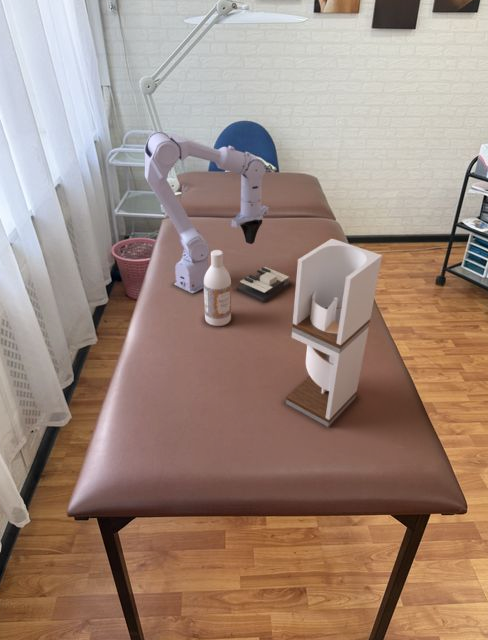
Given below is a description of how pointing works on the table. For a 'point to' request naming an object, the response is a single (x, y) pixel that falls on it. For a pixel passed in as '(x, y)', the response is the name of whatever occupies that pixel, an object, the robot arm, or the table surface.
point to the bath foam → (217, 291)
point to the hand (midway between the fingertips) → (249, 242)
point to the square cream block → (268, 278)
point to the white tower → (332, 325)
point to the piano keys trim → (262, 287)
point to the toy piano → (261, 295)
